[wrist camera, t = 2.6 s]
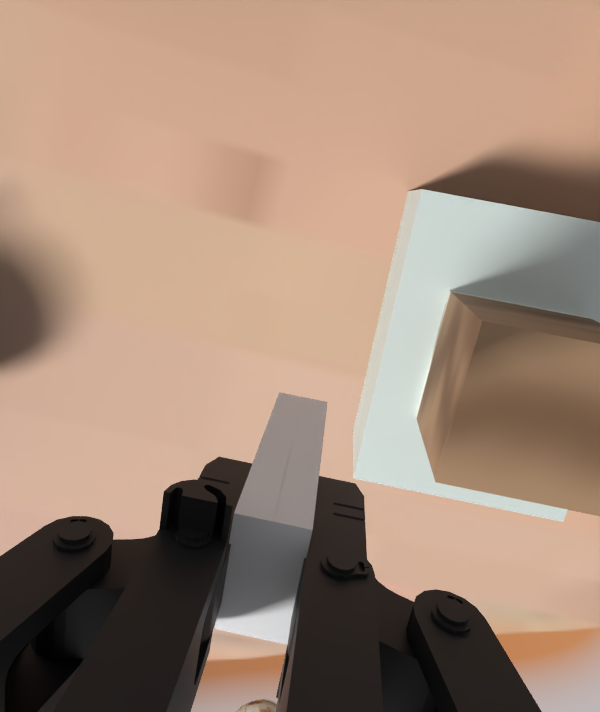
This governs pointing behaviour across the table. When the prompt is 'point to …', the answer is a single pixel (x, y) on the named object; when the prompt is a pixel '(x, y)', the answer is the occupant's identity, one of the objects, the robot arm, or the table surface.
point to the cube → (514, 403)
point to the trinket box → (259, 706)
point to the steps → (425, 309)
